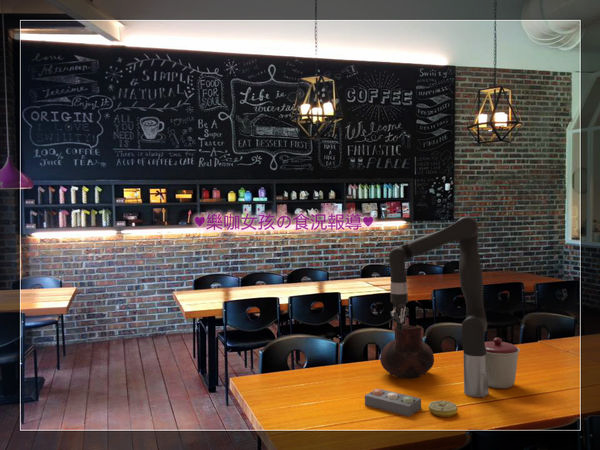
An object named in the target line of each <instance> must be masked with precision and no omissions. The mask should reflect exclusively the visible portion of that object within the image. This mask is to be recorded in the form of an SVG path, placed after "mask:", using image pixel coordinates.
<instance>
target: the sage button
mask: <svg viewBox="0 0 600 450" xmlns="http://www.w3.org/2000/svg"><path fill="white" fill-rule="evenodd" d="M410 396H411V395H408V396H405V397H403V402H405V403H410V404H411V403H413V397H414V396H413V397H410Z"/></svg>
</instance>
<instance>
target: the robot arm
mask: <svg viewBox="0 0 600 450" xmlns="http://www.w3.org/2000/svg"><path fill="white" fill-rule="evenodd" d="M478 237H479V223H478V221H477V220H476V219H475V218H474V217H471V216H463V217H460V218H458V220H456V221H455V222H454V223H452V224H450V225H449V226H446V227H445V228H443V229H440V230H438V231H435V232H432V233H429V234H426V235H423V236H421V237H418V238H415V239H414V240H411V241H409V242H407V243H405V244H401V245H399V246H397V247H395V248H392V249H391V250H390V251H389V253H388V254H389V255H388V263H389V268H390V287H389V288H390V289H389V290H390V303H391V304H393V305H392V311H390V312H389V314H390V316H391V318H392V320H393V322H394V323H396V325H397V331H402V330H403V324H404V322H405V321H406V320H407V319H406V318H407V315H408V312H409V308H408V307H406V304H407V303H408V302H409V299H408V297H409V294H408V293H409V291H408V282H407V281H408V278H407V275H408V274H407V270H406V261H408V260H410V259H412V258H414V257H418V256H421V255H424V254H427V253H429V252H431V251H433V250H435V249H437V248H440V247H442V246H444V245H446V244H449V243H452V242H455V241H458V243H459V259H458V260H459V261H458V262H459V263H458V264H459V266H458V271H459V272H458V274H459V283H460V284H459V285H460V289H461V292H462V294H463V298H464V301H465V305H466V307H465V309H466V315H465V319H464V320H462V323H461V331H460V332H461V346H462V350H463V390H464V391H463V393H464V394H465V395H467V396H469V397H473V398H485V397H487V395H488V394H490V391H489V390H490V389H489V388H490V386H489V377H488V371H487V365H486V347H485V343H484V342H485V333H486V331H487V330H488V321H487V315H486V311H485V306H484V281H483V270H482V264H481V262H482V261H481V257H480V254H479V245H478V244H479V243H478V240H479V239H478Z"/></svg>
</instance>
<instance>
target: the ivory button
mask: <svg viewBox="0 0 600 450" xmlns="http://www.w3.org/2000/svg"><path fill="white" fill-rule="evenodd" d="M397 393H398V392H395V393H388V394H387V395H388V398H389V399H393V400H395V399H397V398H398V394H397Z"/></svg>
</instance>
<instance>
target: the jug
mask: <svg viewBox="0 0 600 450" xmlns="http://www.w3.org/2000/svg"><path fill="white" fill-rule="evenodd" d="M422 328H423V326H417V325H410V324H408V323H403V330H402V331H397V324H396V325H395V327H393V329H394V339H392V340H391V341H390V342H388V343H387V344H386V345H384V347H383V348H382V350H381V353H380V364H381V366H382V368H383V369H384V370H385V371H386V372H387V373H388V374H390V375H392V376H393V377H396V378H399V379H410V380H411V379H417V378H419V377H422V376H423V375H426V373H428V372H429V371H430V370H431V369H432V368H433V366H434V363H435V356H434V352H433V350H432V348H431V347H430V345H429V344H427V343H426V342H423V341H422V330H423V329H422Z"/></svg>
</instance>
